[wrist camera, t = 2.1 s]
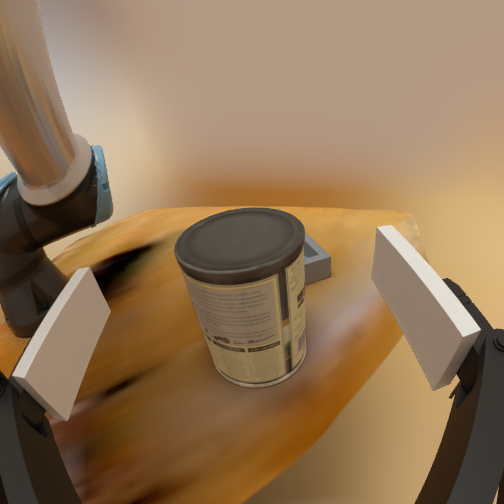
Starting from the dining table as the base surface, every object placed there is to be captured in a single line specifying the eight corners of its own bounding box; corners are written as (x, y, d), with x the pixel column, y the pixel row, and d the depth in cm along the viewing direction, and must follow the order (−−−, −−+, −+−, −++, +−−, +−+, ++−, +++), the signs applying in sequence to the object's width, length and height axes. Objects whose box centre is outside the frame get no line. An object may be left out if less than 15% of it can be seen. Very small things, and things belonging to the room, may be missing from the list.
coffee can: (212, 322, 34) (182, 217, 27) (296, 310, 34) (289, 200, 27) (211, 394, 25) (163, 281, 18) (316, 379, 25) (321, 257, 18)
